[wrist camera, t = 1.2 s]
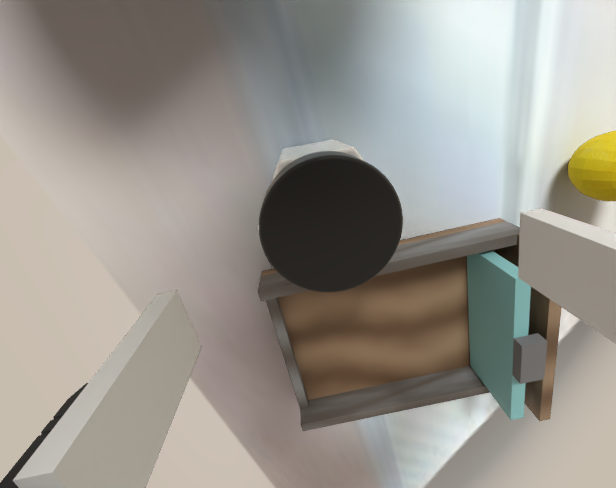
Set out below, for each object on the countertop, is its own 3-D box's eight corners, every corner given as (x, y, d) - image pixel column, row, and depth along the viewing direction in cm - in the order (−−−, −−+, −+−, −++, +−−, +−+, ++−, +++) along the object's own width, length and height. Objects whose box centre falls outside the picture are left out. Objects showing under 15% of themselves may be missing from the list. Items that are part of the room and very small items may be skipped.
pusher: (466, 245, 30) (525, 285, 22) (487, 240, 30) (552, 279, 22) (470, 365, 35) (518, 429, 28) (487, 361, 35) (540, 425, 28)
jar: (276, 238, 30) (268, 307, 19) (256, 151, 27) (233, 172, 16) (368, 221, 30) (415, 280, 19) (358, 132, 27) (407, 139, 16)
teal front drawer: (261, 271, 31) (252, 318, 24) (499, 218, 30) (567, 249, 23) (301, 400, 38) (304, 469, 30) (497, 359, 37) (550, 419, 30)
